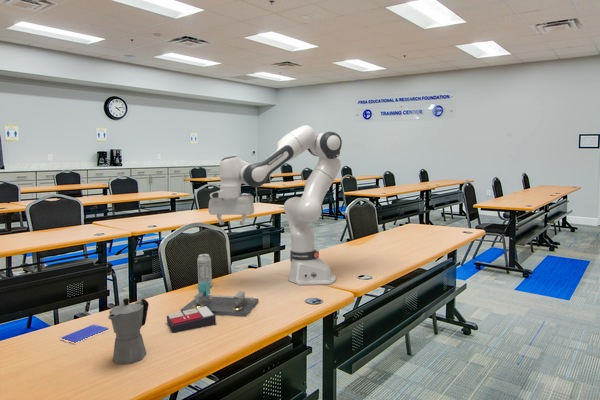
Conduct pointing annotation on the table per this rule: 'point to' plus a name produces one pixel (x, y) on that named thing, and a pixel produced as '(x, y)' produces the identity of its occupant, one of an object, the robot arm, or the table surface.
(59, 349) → the table surface
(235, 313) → the hole plate
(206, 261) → the energy drink can
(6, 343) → the table surface
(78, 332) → the hard drive
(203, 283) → the slider
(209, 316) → the calculator
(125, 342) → the coffeepot
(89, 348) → the table surface
